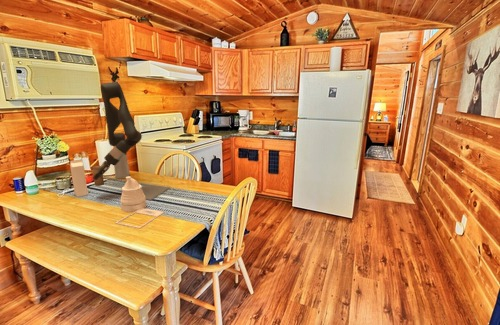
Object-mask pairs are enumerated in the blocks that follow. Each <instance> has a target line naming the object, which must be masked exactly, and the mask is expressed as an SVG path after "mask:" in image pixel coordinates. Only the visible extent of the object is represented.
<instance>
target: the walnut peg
mask: <svg viewBox="0 0 500 325" xmlns="http://www.w3.org/2000/svg"><path fill="white" fill-rule="evenodd" d="M100 168H101V165H95V166H92V176H93V177H94V176H95V175H96V174H97V173H98V171H99V170H100ZM101 173H102V171H101ZM93 183H94V186H95V187H101V186H104V185H105V181H104V174H103V175H101V176H100V177H99V178H98V179H97V180H95V179H93Z"/></svg>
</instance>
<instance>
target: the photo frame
mask: <svg viewBox="0 0 500 325" xmlns="http://www.w3.org/2000/svg"><path fill="white" fill-rule="evenodd" d="M134 214H137V215H138V214H139V215H145V216H150V217H153V218H151V219H149V220H148V221H146V222H145V223H144V224H142V225H140V226H136V225H131V224H128V223H127V224H126V223H121V222H122V221H124V220H126V219H128V218H129V217H131V216H134ZM163 214H165V212H164V211H161V210H155V209H149V208H146V207H145V208H142V209H139V210H137V211H133V212H131V213H130V214H128V215H126V216H125V217H122V218H121V219H119V220H118V221H116V222H115V223H114V224H115V225H121V226H126V227H129V228H134V229H142V228H144V227H145V226H146V225H148V224H149V223H151V222H153V221H154V220H156V219H157V218H158V217H161V216H162V215H163Z"/></svg>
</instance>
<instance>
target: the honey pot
mask: <svg viewBox="0 0 500 325" xmlns="http://www.w3.org/2000/svg"><path fill="white" fill-rule="evenodd" d="M125 179H126V182H125V183H124V186H122V187H121V190H122V193H121V196H120V200H119V202H120V209H121V211H123V212H126V213H133V212H135V211H137V210H139V209H142V208H145V209H146V207H147V200H146V197H145V195H144V193H143V190H142V189H141V188H142V187H143V186H142V185H141V184H140V183H138V181H137V180H136V179H134V178H133V177H132V176H131V175H129V176H128V177H126V178H125Z"/></svg>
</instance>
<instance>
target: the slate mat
mask: <svg viewBox="0 0 500 325" xmlns="http://www.w3.org/2000/svg"><path fill="white" fill-rule="evenodd" d="M141 189H142V190H143V193H144V195H145V197H146V201H153V200H154V199H156V198H157V197H159V196H160V195H162V194H163V193H164V192H166V191H167V190H169V189H171V187H170V186H161V185H153V184H152V185H150V184H145V185H143V186H142V188H141Z"/></svg>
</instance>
